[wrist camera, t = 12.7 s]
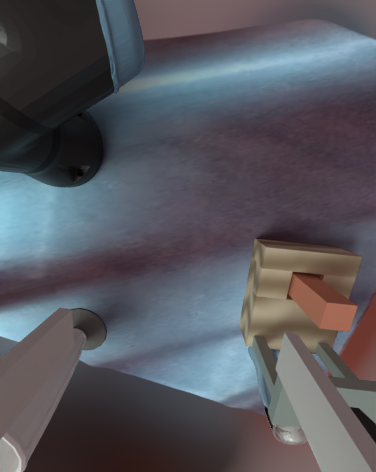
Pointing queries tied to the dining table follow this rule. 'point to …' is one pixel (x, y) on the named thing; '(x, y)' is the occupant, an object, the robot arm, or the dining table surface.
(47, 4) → the robot arm
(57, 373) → the cup
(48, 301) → the dining table surface
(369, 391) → the grey toy table
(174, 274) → the dining table surface
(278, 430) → the beer glass
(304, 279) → the peg
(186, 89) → the dining table surface
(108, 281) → the dining table surface
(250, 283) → the socket block
